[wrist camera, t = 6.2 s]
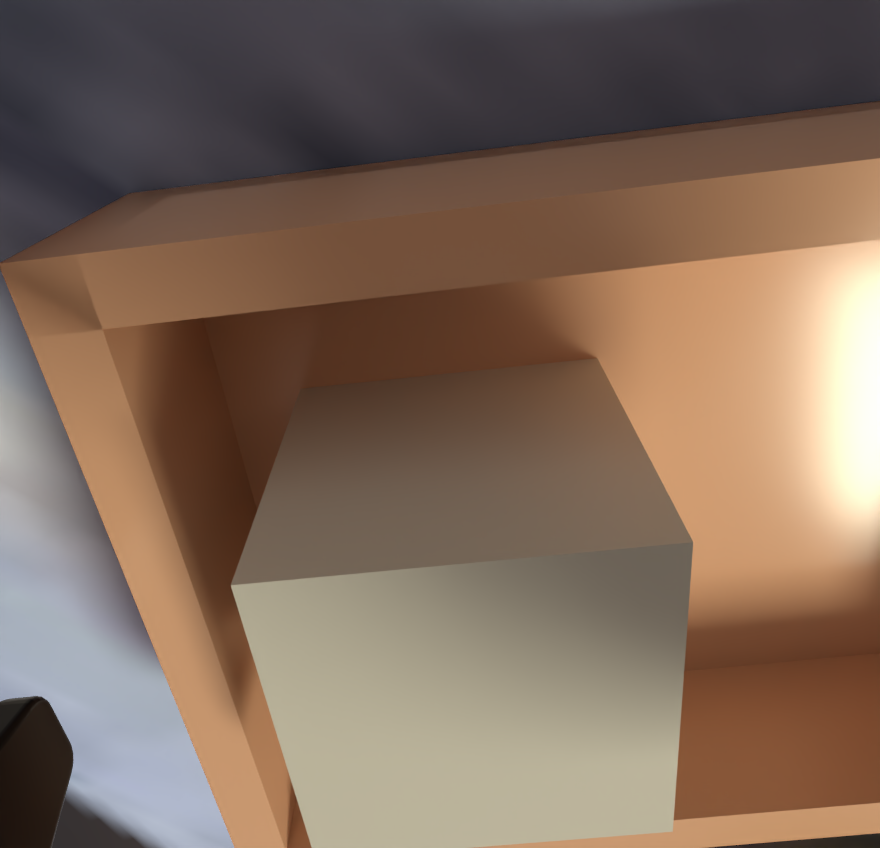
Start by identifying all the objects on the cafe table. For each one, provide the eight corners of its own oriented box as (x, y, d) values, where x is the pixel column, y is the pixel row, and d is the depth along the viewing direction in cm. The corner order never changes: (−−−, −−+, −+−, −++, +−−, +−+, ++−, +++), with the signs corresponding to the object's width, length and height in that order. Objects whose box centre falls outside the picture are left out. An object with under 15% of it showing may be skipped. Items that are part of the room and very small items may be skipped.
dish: (1142, 68, 9) (1482, 85, 6) (966, 646, 13) (1114, 813, 10) (129, 193, 9) (-3, 263, 6) (287, 709, 14) (249, 885, 11)
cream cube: (597, 357, 10) (693, 542, 6) (598, 589, 12) (671, 831, 8) (300, 388, 10) (230, 585, 6) (349, 612, 12) (315, 860, 8)
